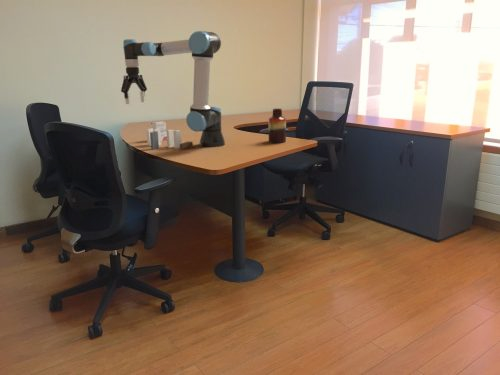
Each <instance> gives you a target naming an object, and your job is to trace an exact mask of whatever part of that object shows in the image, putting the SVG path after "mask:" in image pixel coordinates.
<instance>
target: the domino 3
mask: <svg viewBox="0 0 500 375" xmlns="http://www.w3.org/2000/svg"><path fill="white" fill-rule="evenodd" d="M150 139H151V146H150V150H158V149H160V147H159V146H160V145H159V143H158V131H154V132H150Z"/></svg>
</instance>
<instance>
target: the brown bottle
mask: <svg viewBox="0 0 500 375" xmlns="http://www.w3.org/2000/svg"><path fill="white" fill-rule="evenodd" d="M268 142H269V143H270V142H271V144H283V143H286V142H287V118H286V117H284V116H283V109H282V108H272V116H271V117H269V118H268Z"/></svg>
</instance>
